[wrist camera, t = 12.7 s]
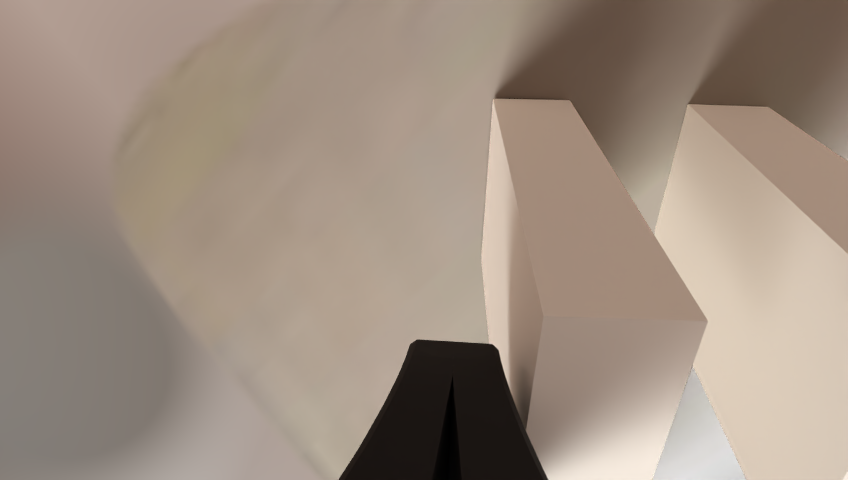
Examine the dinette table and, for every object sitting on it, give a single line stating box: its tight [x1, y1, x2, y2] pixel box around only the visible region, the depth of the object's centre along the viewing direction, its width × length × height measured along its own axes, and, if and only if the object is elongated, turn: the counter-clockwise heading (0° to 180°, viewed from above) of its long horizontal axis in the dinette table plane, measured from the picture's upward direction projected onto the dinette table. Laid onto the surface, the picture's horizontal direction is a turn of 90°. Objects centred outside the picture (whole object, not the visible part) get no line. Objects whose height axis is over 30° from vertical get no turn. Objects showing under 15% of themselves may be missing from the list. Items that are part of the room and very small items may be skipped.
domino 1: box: [481, 99, 708, 480], centre depth 12 cm, size 2×5×9 cm, turn 179°
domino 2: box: [654, 104, 848, 480], centre depth 12 cm, size 2×5×9 cm, turn 179°
